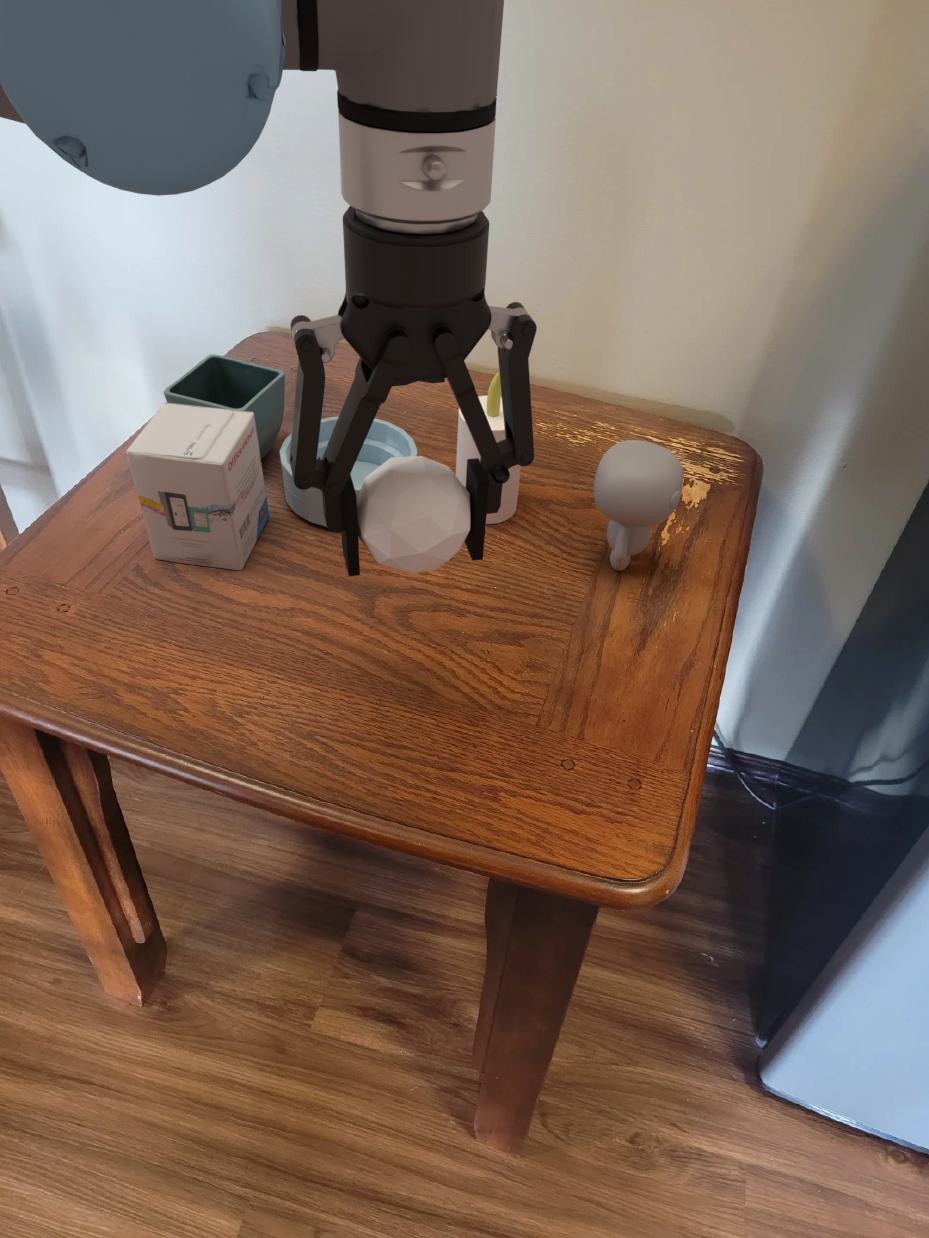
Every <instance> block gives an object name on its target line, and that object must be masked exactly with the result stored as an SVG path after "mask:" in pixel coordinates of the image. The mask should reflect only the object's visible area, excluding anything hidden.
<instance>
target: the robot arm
mask: <svg viewBox="0 0 929 1238" xmlns="http://www.w3.org/2000/svg"><path fill="white" fill-rule="evenodd" d="M504 6H505V0H0V118H1V119H6V120H9V121H13V122H17V123H21V124H23V125H24V124H25V125H26V126H27V128H28V129H30V131H31V132H32V133H33V135H34V136H35V137H36V138H37V139H39V140H40V141H41V142H42V143H43V144H45V145H46V146H47V147H48V148H49V149H50V150H52V151H53V152H54V153H55V154H56V155H58V157H60V159H62V160H64V162H66V163H67V164H69V165H70V166H72V167H74V168H75V169H77V170H78V171H79V172H81V173H83V174H85V175H86V176H88V177H90V178H91V179H93V180H95V181H97V182H99V183H101V184H104V185H106V186H109V187H111V188H115V189H118V190H120V191H124V192H128V193H135V194H137V195H149V196H157V197H158V196H174V195H181V194H186V193H189V192H193V191H195V190H198V189H201V188H203V187H206V186H209V185H210V184H212V183H214V182H216V181H218V180H220V179H222V178H224V177H225V176H226V175H227V174H229V173H230V172H231V171H233V170H234V169H236V167H238V165H239V164H240V163H241V162H242V161H243V160H244V159H245V158H246V156H248V155H249V153H251V150H252V149H253V148H254V146H255V145H256V143H257V142H258V140H259V139H260V137H261V135H262V132H263V131H264V128H265V127H266V124H267V122H268V118H269V116H270V113H271V111H272V107H273V103H274V99H275V95H276V91H277V89H279V88H280V86H281V82H282V78H283V72H284V71H301V72H317V71H334V72H335V77H336V84H337V91H336V100H337V113H338V114H337V116H338V117H337V118H338V142H339V144H338V145H339V169H340V174H339V175H340V194H341V196H342V199H343V200H344V202H345V203H346V204H347V205H349V206H348V208H347V210H345V212H344V213H343V215H342V235H343V256H344V257H343V258H344V279H345V293H344V297H343V300H342V303H341V305H340V307H338V308H339V309H338V311H337V314H336V315H335V314H334V315H332V316H328V317H323V318H319V319H315V320H311V319H310V317H308V316H306V315H304V314H298V315H296V316H294V317H293V318H292V319H291V321H290V331H291V335H292V339H293V343H294V347H295V351H296V354H297V357H298V360H297V371H296V383H295V395H294V404H293V406H294V408H293V416H292V427H291V428H292V429H291V433H292V438H291V449H290V465H291V470H292V475H293V480H294V485H295V486H296V487H297V488H298V489H301V490H306V489H309V488H311V487H314V488H317V489H319V490H321V491H322V498H323V511H324V517H325V521H326V526H327V527H326V528H327V529H328V532H329V533H337V532H341V546H342V554H343V557H344V558H343V559H344V563H345V568H346V572H347V574H348V577H356V576H361V569H360V566H361V565H360V545H359V544H360V543H359V537H358V520H357V498H356V492H355V489H354V485H353V482H352V478H351V475H350V474H351V471H352V469H353V467H354V464H355V462H356V460H357V457H358V455H359V453H360V451H361V448H362V446H363V444H364V441H365V439H366V437H367V434H368V432H369V430H370V428H371V425H372V423H373V421H374V418H376V416H377V413H378V411H379V409H380V407H381V405H383V404H385V403H386V402H387V399H388V396H389V395H390V392H391V390H392V388H393V387H402V386H408V385H411V384H413V383H416V382H421V383H427V384H428V383H429V384H440V383H442V384H443V383H445V379H446V380H447V382H448V384H449V387H450V389H451V391H452V394H453V396H454V398H455V401H456V403H457V405H458V407H459V408H460V410H461V413H462V415H463V417H464V419H465V422H466V424H467V426H468V429H469V431H470V433H471V436H472V438H473V440H474V443H475V445H476V447H477V450H478V452H479V454H480V456H481V458H480V461H479V459H478V458H475V459H467V473H466V490H467V491H468V492H469V493H470V512H471V524H470V531H469V533H468V535H467V537H466V539H465V541H464V544H465V547H466V549H467V551H468V554H469V557H470V558H471V561H473V562H475V561H481V560H483V559H484V551H485V550H484V548H485V537H486V525H487V524H486V515H487V514H491V513H497V512H498V510H499V508H500V506H501V494H502V485H503V484H504V483H505V482H507V481H508V479H509V477H510V472H509V471H508V469H509V468H511V467H513V466H515V465H519V466H521V467H528V466H530V465H531V464H532V463H533V461H534V460H535V446H534V430H533V429H534V428H533V426H534V425H533V413H532V412H533V411H532V395H531V379H530V377H531V376H530V363H529V358H530V355H531V351H532V347H533V345H534V341H535V338H536V334H537V330H538V329H537V328H538V326H537V323H536V322H535V321H534V319H533V318H532V316H531V314H530V313H529V312H528V311H527V309H526V307H524V305H523V304H522V303H521V302H519V301H513V302H511V303H509V304H508V305H507V306H506V307H501V306H495V305H494V306H493V305H489V304H488V302H487V299H486V294H485V290H486V283H487V282H486V280H487V267H488V266H487V264H488V250H489V236H490V220H489V219H488V217H487V216H486V214H485V212H484V210H486V208H487V207H488V206H489V205H490V204H491V200H492V184H493V170H494V155H495V138H496V137H495V136H496V124H497V123H496V121H497V117H496V114H497V96H498V83H499V73H500V72H499V71H500V59H501V47H502V46H501V45H502V33H503V32H502V31H503V21H504V20H503V19H504ZM488 330H489V331H490V337H491V339H492V340H493V342H494V344H495V345H496V347H497V358H498V359H497V361H498V370H499V371H498V372H500V383H501V397H502V405H503V417H504V428H505V439H504V440H502V441H500V442H496V440H495V437H494V435H493V432H492V430H491V427H490V425H489V422H488V420H487V417H486V415H485V412H484V410H483V407H482V405H481V403H480V400H479V398H478V393H477V391H476V390H477V389H476V387H475V385H474V382H473V379H472V376H471V374H470V372H469V369H468V367H467V364H466V362H465V361H466V359H467V358H468V356H469V355H470V354H471V353H472V351H473V350H474V348H475V347H476V346H477V344H478V343H479V342H480V341H481V340H482V338H483V337H484V335H485V334H486V333H487V331H488ZM342 340H345V341H346V343H347V344H349V346H350V347H351V349H353V350H354V351H355V353H356V354H357V355H358V357H359V358H358V361H357V363H356V366H355V370H354V378H353V381H352V383H351V385H350V388H349V390H348V393H347V396H346V398H345V401H344V402H343V405H342V407H341V410H340V413H339V415H338V416H339V417H338V420H337V422H336V425H335V427H334V430H333V432H332V435H331V437H330V440H329V442H328V444H327V447H326V449H325V452H324V454H323V457H322V459H321V460H320V457H318V459H317V451H318V442H319V434H320V425H321V419H322V417H323V416H322V415H323V407H324V406H323V405H324V397H325V389H326V371H325V370H326V369H325V365H324V364H329V363H330V362H331V361H332V360H333V358H334V357H335V354H336V353H335V352H336V346H337V345H338V343H339V342H341V341H342ZM459 408H458V409H459Z"/></svg>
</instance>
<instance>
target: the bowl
mask: <svg viewBox="0 0 929 1238" xmlns="http://www.w3.org/2000/svg"><path fill="white" fill-rule="evenodd" d="M338 417H339V415H338V416H329V417H325V418H321V425H320V434H319V442H318V451H317V459H318V457H320V460H321V459H322V457H323V454H324V452H325V449H326V447H327V444H328V442H329V440H330V437H331V435H332V432H333V430H334V427H335V425H336V422H337V420H338ZM291 438H292V432H291V433H290V434H289V435H288V436H287V437H286V438H285V439H284V440H283V442H282V444H281V447H280V449H279V459H280V466H281V475H282V485H283V492H284V499H285V502H286V503H287V505H288V506H289V508H290V509H291V510H292V511H293V512H294V513H295V514H296V515H298V516H299V517H301V518H302V519H304V520H306V521H307V522H309V523H313V524H316V525H318V526H323V527H326V528H327V526H326V521H325V517H324V511H323V498H322V491H321V490H319V489H317V488H314V487H311V488H309V489H306V490H301V489H298V488H297V487H296V486H295V485H294V480H293V475H292V470H291V465H290V449H291ZM418 454H419V453H418V448H417V446H416V443H415V440H414V438H413V437H411V435H410V434H408V432H406V430H405V429H403V428H402V427H399V426H397V425H395V424H394V423H391V422H389V421H387V420H383V419H380V418H376V417H375V418H374V421H373V423H372V425H371V428H370V430H369V432H368V434H367V437H366V439H365V441H364V444H363V446H362V448H361V451H360V453H359V455H358V457H357V460H356V462H355V464H354V467H353V469H352V471H351V474H350V475H351V478H352V482H353V485H354V489H355V492H356V498H358V496H359V493H360V490H361V487H362V485H363V482H364V479H365V477H367V476H368V475H369V474H371V473H372V472H373V471H374V470H376V469H377V468H378V467H380V466H381V465H382V464H383V463H385V462H386V461H387V460H389V459H390V458H392V457H412V456H419V455H418Z"/></svg>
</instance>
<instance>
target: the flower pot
mask: <svg viewBox="0 0 929 1238" xmlns="http://www.w3.org/2000/svg"><path fill="white" fill-rule="evenodd" d="M285 390H286V372H285V371H283V370H281V369H278V368H273V367H269V366H265V365H260V364H255V363H251V362H247V361H243V360H240V359H236V358H232V357H228V356H224V355H220V354H214V353H213V354H212V353H211V354H208V355H207V356H205V358H203V359H201V360H199V362H198V363H197V364H195V366H193V367H191V368H190V369H189V370H188V371H187V372H186V373H184V374H183V375H181V377H179V378H178V379H177V380H175V381H174V382H173V383H172V384H170V385H169V386H167V387H166V388H165V389H164V390H163V391H162V392H163V395H164V398H165V401H166V402H167V403H175V404H184V405H193V406H202V407H210V408H219V409H229V410H239V411H247V412H248V411H249V412H253V413H254V418H255V425H256V431H257V438H258V444H259V451H260V458H261V460H262V459H263V458H264V457H265V456H266V455H267V454H268V453H269V452H270V451H271V449H272V447H273V446H274V443H275V442H276V440H277V438H278V436H279V433H280V431H281V428H282V424H283V420H284V413H285V394H286V393H285V392H286V391H285Z"/></svg>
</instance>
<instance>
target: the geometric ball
mask: <svg viewBox="0 0 929 1238" xmlns="http://www.w3.org/2000/svg"><path fill="white" fill-rule="evenodd" d="M357 520H358V539H360V540H359V541H361V543H362V544H363V545H364V546H365V548H366V549H367V550H368V552H369V553H370V555H371V557H372V558H373V559H374V560H375V562H376V563H377V564H378V565H381V566H385V567H389V568H392V569H395V570H399V571H403V572H407V573H410V574H419V573H425V572H433V571H436V570H438V569H439V568H440V567H442V566H443V565H444V564H446V563H447V562H448V561H450V559H452V558H453V557H454V556H455V555H456V554H457V553H459V552H460V551H461V549H462V547H463V545H464V544H465V542H464V541H465V539H466V537H467V535H468V533H469V531H470V524H471V512H470V493H469V492H468V491H467V490H466V488H465V487H464V486H463V485H462V483H461V482H460V481H459V480H458V478H457V477H456V473H454V472H453V471H452V468H450V467H449V466H448V465H446V464H443V463H441V462H438V461H436V460H433V459H431V458H428V457H426V456H423V455H418V456H412V457H392V458H390V459H389V460H387V461H386V462H385V463H383V464H382V465H381V466H380V467H378V468H377V469H376V470H374V471H373V472H372V473H371V474H369V475H368V476H367V477H365V479H364V482H363V485H362V487H361V490H360V493H359V496H358V498H357Z"/></svg>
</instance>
